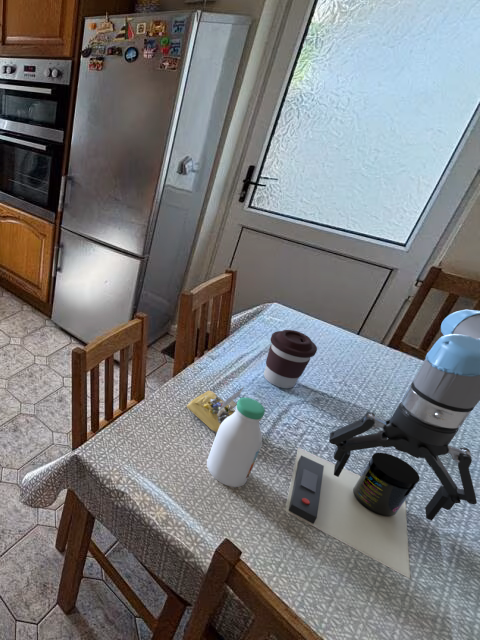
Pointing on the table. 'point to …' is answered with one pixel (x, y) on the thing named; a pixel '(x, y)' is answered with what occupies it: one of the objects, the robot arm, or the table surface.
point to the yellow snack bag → (213, 408)
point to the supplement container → (385, 484)
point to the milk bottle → (237, 444)
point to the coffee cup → (288, 357)
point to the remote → (306, 489)
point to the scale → (357, 518)
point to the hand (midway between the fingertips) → (380, 491)
